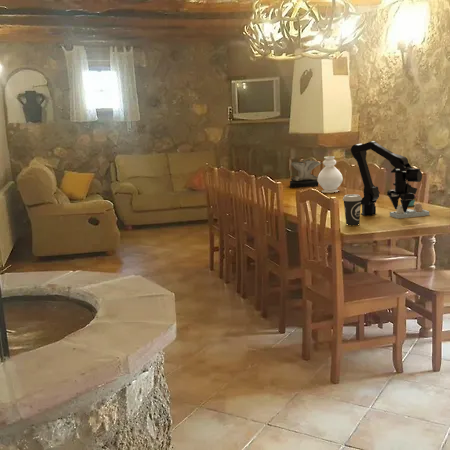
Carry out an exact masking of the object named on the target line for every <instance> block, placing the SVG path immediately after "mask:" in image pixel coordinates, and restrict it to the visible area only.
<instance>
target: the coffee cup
mask: <svg viewBox="0 0 450 450" xmlns="http://www.w3.org/2000/svg"><path fill="white" fill-rule="evenodd" d="M362 198H363V197H362V196H361V195H360V194H354V193H352V194H345V195H343V197H342V201H343V206H344V207H343V208H344V217H345V225H346V224H348V225H358V224H359V225H360V219H361V218H360V217H361V209H362V205H361V200H362ZM359 225H358V226H359Z"/></svg>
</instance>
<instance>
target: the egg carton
mask: <svg viewBox="0 0 450 450" xmlns="http://www.w3.org/2000/svg"><path fill="white" fill-rule="evenodd" d="M425 216H430V211H429V210H427V209H423V212H416V211H414V209H410V208H407V211H406V212H405V214H396V211H391V212H390V211H389V217H391V218H394V219H406V218H407V219H408V218H417V217H425Z"/></svg>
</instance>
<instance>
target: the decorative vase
mask: <svg viewBox="0 0 450 450" xmlns="http://www.w3.org/2000/svg"><path fill="white" fill-rule="evenodd" d="M323 158H324V160H323V161H322V164H323V166H324V167H322V169H321V170H320V172H319V174H318V176H317V177H318V178H317V181H318V185H319V186H320V187H321V188H322V190H321V193H324V194H325V193H327V194H333V193H334V192H335V193H339V192H340V189H338V188H339V187H340V186H341V184H342V183H343V180H344V179H343V177H344V176H343V175H342V173H341V171H340V170H339V169H338V168H337V167H336V166H335V165H337V159H335V158H336V157H335V156H334V155H333V156H332V155H327V156H324V157H323ZM338 191H339V192H338Z"/></svg>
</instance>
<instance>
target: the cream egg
mask: <svg viewBox="0 0 450 450" xmlns="http://www.w3.org/2000/svg"><path fill="white" fill-rule="evenodd" d="M395 212H396V214H405V212H404V211H403V208H402V204H398V206H397V209H395Z"/></svg>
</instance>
